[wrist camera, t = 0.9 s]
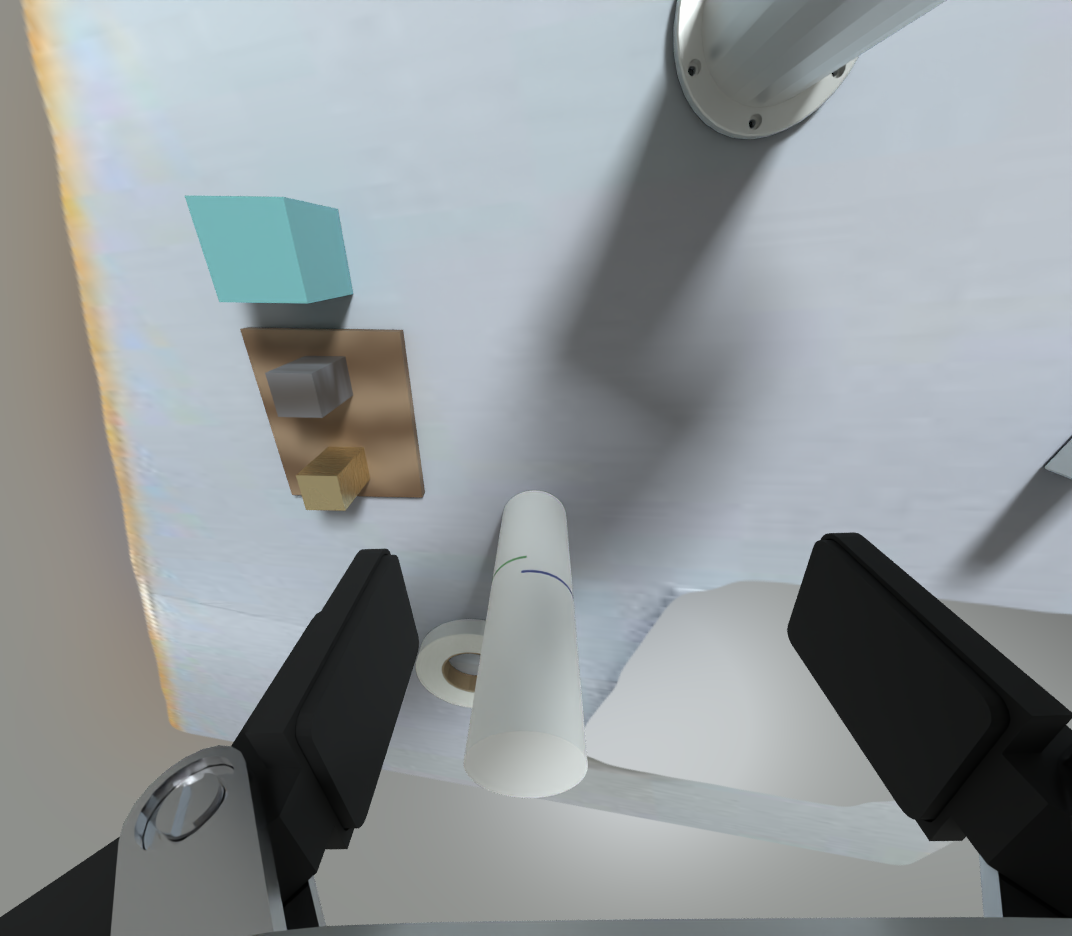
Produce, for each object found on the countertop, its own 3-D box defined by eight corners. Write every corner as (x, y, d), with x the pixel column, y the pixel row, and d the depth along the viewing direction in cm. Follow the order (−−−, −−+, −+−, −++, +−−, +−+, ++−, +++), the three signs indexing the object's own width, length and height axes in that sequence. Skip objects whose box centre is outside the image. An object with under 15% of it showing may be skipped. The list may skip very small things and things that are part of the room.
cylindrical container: (564, 543, 47) (582, 799, 25) (503, 542, 47) (467, 796, 25) (568, 491, 44) (593, 733, 22) (502, 489, 44) (459, 728, 22)
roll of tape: (414, 679, 60) (409, 698, 57) (428, 607, 53) (422, 624, 50) (516, 697, 61) (515, 716, 59) (542, 629, 54) (542, 647, 52)
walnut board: (247, 327, 36) (186, 342, 30) (403, 330, 36) (373, 345, 30) (297, 490, 44) (257, 528, 38) (424, 492, 44) (405, 531, 38)
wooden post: (328, 446, 41) (295, 475, 35) (363, 447, 41) (336, 476, 35) (335, 477, 42) (306, 509, 37) (370, 478, 42) (345, 510, 37)
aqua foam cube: (259, 208, 32) (184, 195, 25) (337, 209, 32) (283, 197, 25) (281, 293, 35) (219, 302, 28) (353, 294, 35) (307, 303, 28)
